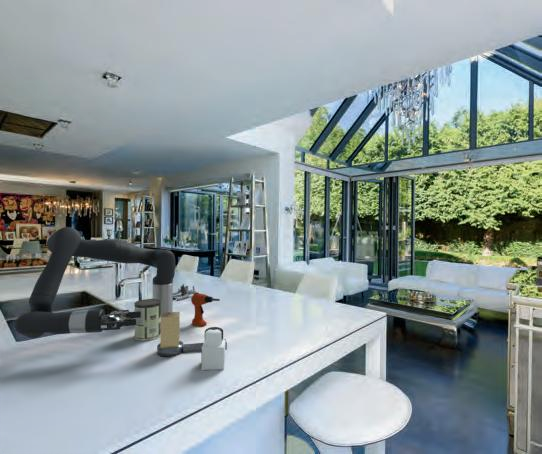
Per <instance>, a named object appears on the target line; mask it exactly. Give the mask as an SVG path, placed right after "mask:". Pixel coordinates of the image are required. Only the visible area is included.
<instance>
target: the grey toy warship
mask: <svg viewBox="0 0 542 454" xmlns="http://www.w3.org/2000/svg"><path fill="white" fill-rule="evenodd" d="M196 292H197V290H195V285H192V289H190V290H189V285H185V283H182V285H181V286H180V288H177V291H175V292H173V296H175V295H180V294H181V297H173V301H174V300H176V301H181V300H184V299H186V298H188V297H189V296H191V295H192V296H193V295H194V294H195V293H196Z"/></svg>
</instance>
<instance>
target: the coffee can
mask: <svg viewBox="0 0 542 454" xmlns="http://www.w3.org/2000/svg"><path fill="white" fill-rule="evenodd" d="M133 305H134V312H136V311H140V312H141V317H140V318H134V319H136V325H135V326H134V336H133V337H134V339H135V340H136V341H142V342H143V341H152V340H156V339H158V338H161V300H159V299H152V298H146V299H140V300H136V301H134V304H133Z"/></svg>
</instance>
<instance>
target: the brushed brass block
mask: <svg viewBox="0 0 542 454" xmlns="http://www.w3.org/2000/svg"><path fill="white" fill-rule="evenodd" d="M180 314H181V312H180V311H173V312H163V313H162V316H161V336H160V343H161V349H165V348H178V347H179V341H180V334H181V333H180V331H181V327H180V325H181V324H180V321H181V320H180V316H181V315H180Z"/></svg>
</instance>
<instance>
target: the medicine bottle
mask: <svg viewBox="0 0 542 454" xmlns="http://www.w3.org/2000/svg"><path fill="white" fill-rule="evenodd" d="M223 339H224V329H223V328H221V327H219V326H210V327H208V328H206V329H205V330H204V340H203V342H202V343H203V346H202V350H201V351H200V352H201V362H200V363H201V364H200V367H201V371H219V370H221V371H223V370H224V369H225V364H226V350H225V340H223Z"/></svg>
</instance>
